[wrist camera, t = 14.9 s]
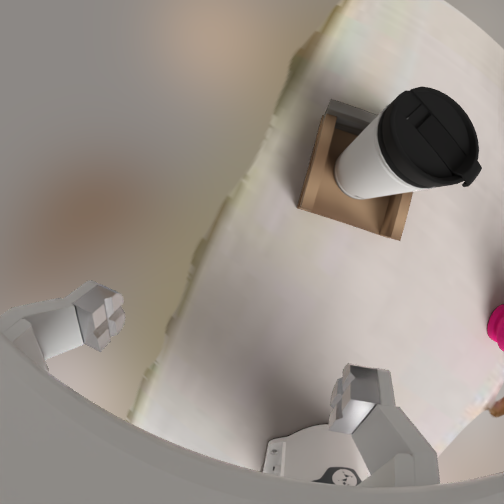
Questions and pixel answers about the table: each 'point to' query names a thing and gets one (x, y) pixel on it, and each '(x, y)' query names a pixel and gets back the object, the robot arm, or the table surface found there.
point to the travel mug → (410, 148)
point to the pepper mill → (497, 326)
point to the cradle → (326, 190)
